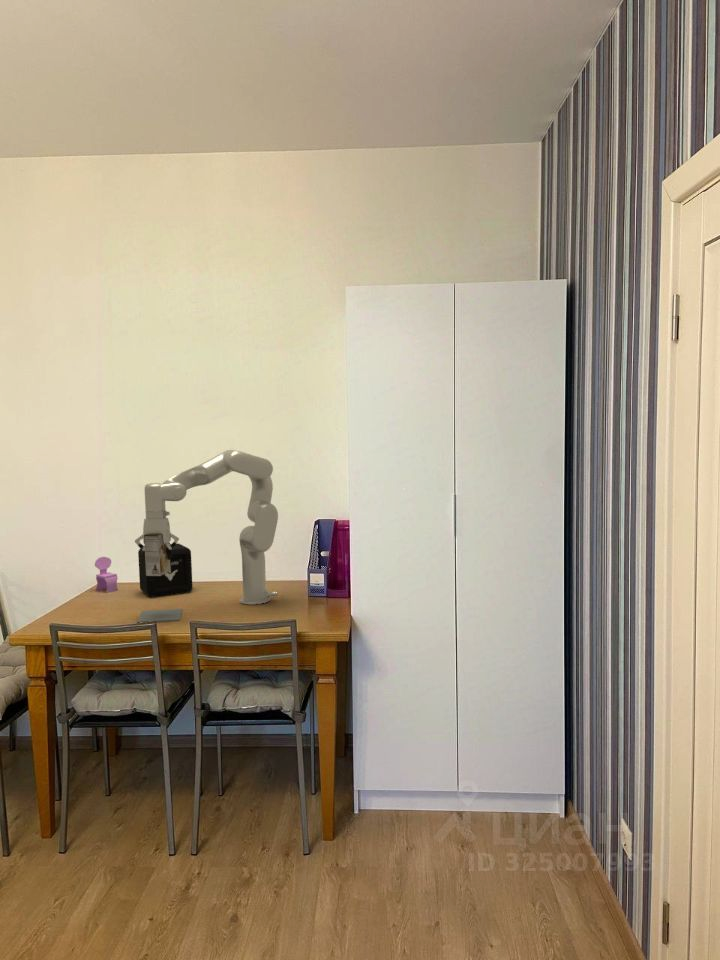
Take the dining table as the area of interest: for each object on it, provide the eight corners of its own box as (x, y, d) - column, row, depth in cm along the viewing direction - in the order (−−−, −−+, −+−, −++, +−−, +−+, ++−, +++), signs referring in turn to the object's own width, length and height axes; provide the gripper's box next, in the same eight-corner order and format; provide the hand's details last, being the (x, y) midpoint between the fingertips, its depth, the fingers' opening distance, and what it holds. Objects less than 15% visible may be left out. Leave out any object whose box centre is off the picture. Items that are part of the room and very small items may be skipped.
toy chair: (104, 593, 349) (102, 560, 348) (93, 591, 355) (91, 558, 353) (120, 590, 356) (118, 557, 354) (109, 587, 361) (107, 555, 360)
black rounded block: (147, 599, 338) (145, 552, 336) (139, 592, 351) (137, 547, 349) (194, 592, 348) (192, 547, 346) (184, 586, 361) (182, 542, 358)
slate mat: (182, 609, 319) (182, 608, 319) (180, 620, 304) (180, 619, 303) (141, 612, 317) (141, 610, 317) (137, 623, 301) (137, 621, 301)
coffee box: (156, 570, 313) (154, 530, 312) (171, 571, 312) (169, 530, 311) (145, 575, 305) (143, 534, 303) (161, 576, 303) (159, 534, 302)
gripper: (179, 512, 311) (181, 556, 313) (133, 514, 308) (136, 559, 310) (178, 515, 304) (180, 560, 306) (131, 517, 301) (133, 563, 303)
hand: (157, 559), depth 308 cm, fingers closed on coffee box, 8 cm apart
